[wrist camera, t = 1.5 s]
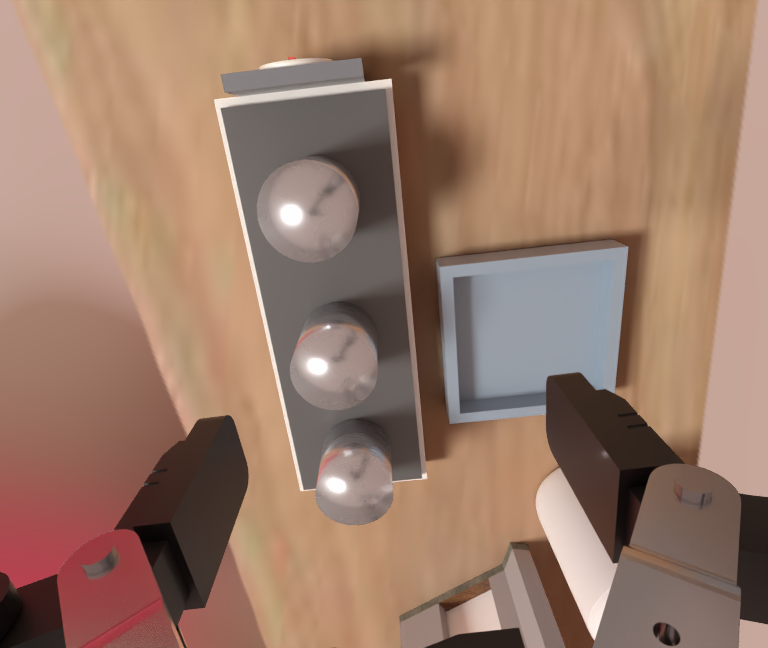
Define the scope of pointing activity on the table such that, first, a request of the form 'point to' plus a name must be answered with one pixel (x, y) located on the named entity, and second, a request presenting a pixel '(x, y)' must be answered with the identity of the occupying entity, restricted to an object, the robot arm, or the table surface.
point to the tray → (527, 325)
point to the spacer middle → (336, 357)
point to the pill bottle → (576, 547)
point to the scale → (349, 267)
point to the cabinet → (488, 607)
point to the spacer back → (355, 473)
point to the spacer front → (309, 208)
